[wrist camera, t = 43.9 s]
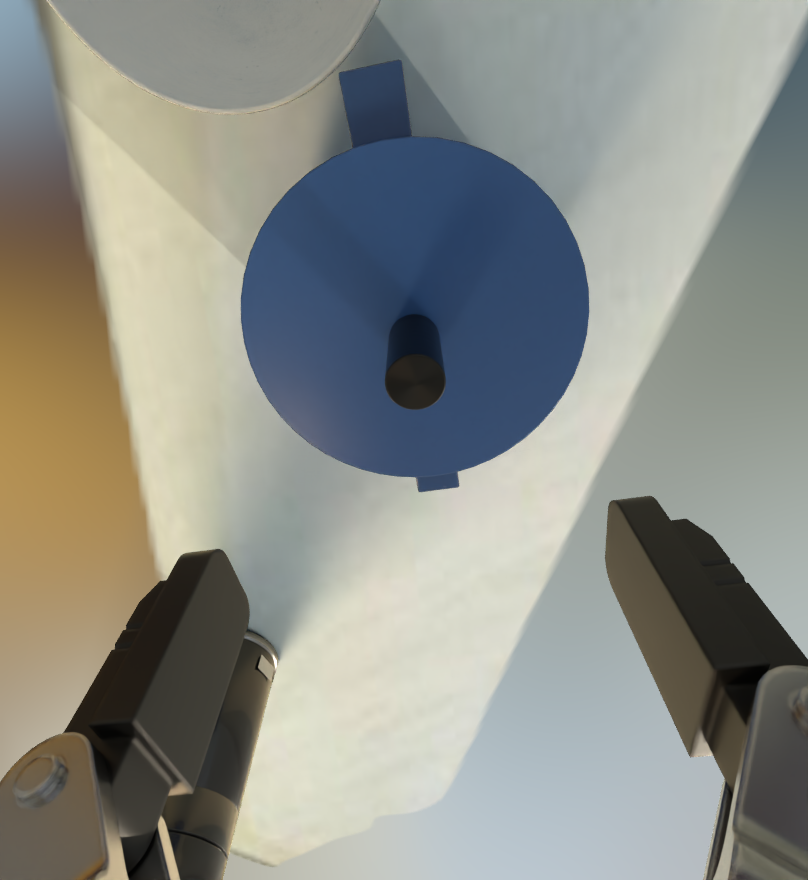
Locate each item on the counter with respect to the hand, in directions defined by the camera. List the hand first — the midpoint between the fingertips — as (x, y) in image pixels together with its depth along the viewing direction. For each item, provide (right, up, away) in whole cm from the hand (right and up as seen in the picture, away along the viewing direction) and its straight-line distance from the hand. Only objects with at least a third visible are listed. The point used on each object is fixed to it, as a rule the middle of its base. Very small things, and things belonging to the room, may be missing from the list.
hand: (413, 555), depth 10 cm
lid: (0, +7, +12) cm, 15 cm away
